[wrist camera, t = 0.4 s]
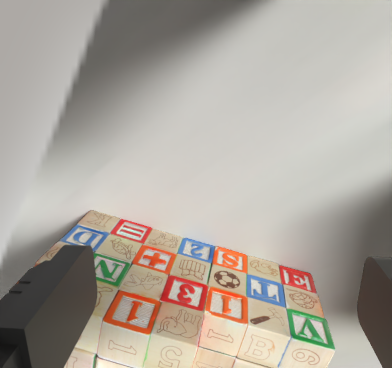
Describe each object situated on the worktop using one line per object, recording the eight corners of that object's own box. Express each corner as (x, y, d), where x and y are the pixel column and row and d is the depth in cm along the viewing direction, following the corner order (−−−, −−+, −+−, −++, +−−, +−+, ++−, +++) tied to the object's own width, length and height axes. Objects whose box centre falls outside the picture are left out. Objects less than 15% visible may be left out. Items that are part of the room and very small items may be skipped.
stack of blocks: (313, 271, 32) (351, 392, 20) (290, 323, 34) (313, 458, 22) (89, 208, 33) (5, 291, 21) (82, 263, 35) (1, 365, 23)
